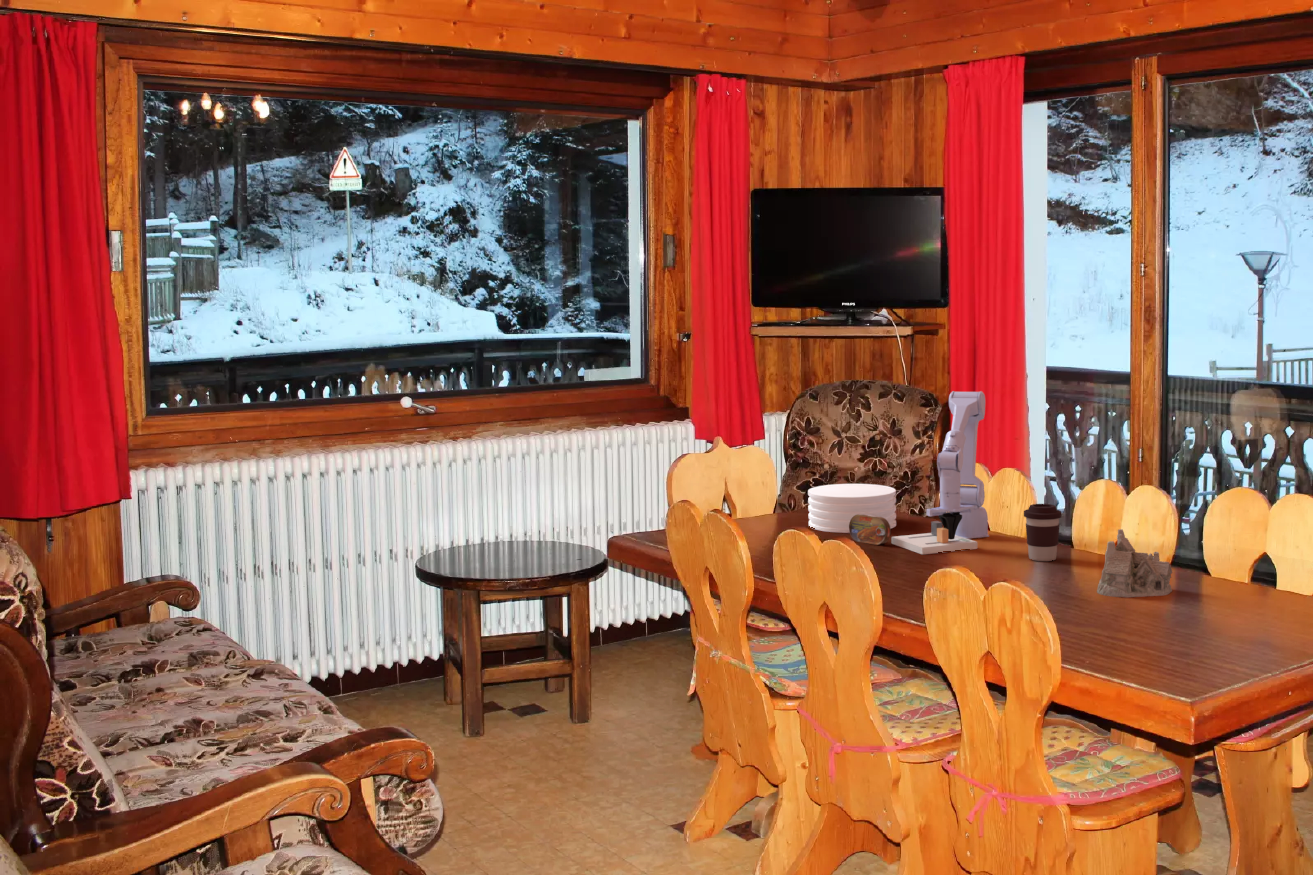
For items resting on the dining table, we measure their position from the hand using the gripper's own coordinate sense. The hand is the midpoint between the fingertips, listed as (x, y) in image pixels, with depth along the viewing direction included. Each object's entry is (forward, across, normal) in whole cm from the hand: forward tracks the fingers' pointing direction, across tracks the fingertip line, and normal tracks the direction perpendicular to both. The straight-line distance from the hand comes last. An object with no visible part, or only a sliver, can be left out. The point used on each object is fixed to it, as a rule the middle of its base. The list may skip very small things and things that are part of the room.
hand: (950, 538), depth 370 cm
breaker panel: (+3, -2, +5) cm, 6 cm away
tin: (+3, -16, +18) cm, 25 cm away
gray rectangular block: (+1, +2, +10) cm, 10 cm away
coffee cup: (+3, +14, -24) cm, 28 cm away
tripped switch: (+1, -3, 0) cm, 3 cm away
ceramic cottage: (+3, +12, -65) cm, 66 cm away
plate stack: (+3, -8, +47) cm, 48 cm away
